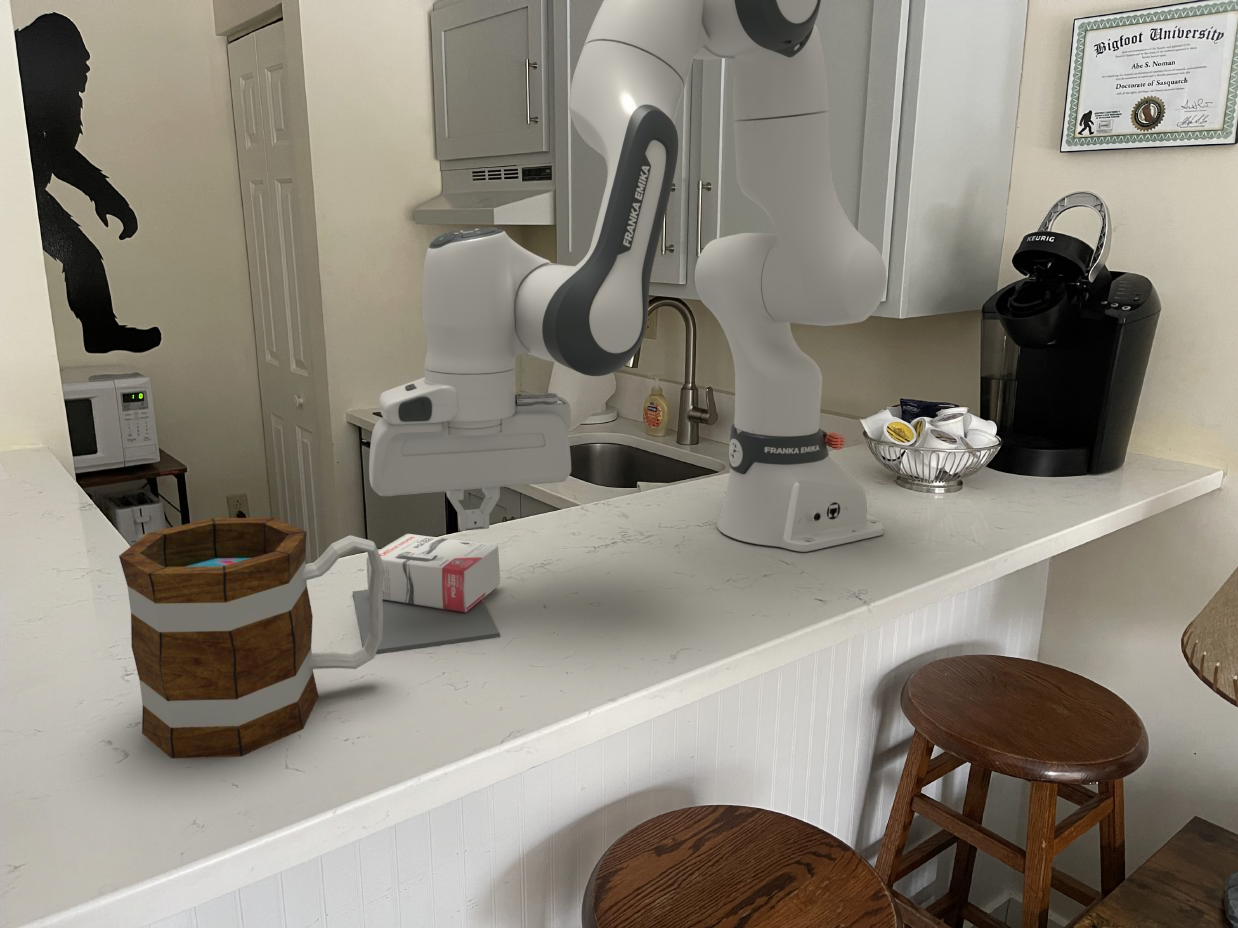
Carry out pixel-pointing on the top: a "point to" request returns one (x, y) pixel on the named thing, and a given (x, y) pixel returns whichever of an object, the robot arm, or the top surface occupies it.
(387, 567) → the ink box
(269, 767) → the top surface
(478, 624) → the mat
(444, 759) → the top surface
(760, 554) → the top surface
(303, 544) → the mug
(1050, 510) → the top surface
